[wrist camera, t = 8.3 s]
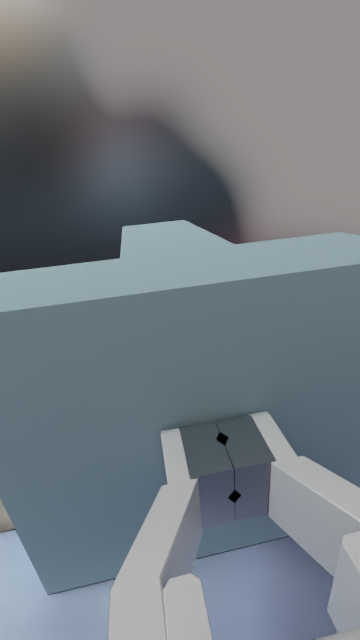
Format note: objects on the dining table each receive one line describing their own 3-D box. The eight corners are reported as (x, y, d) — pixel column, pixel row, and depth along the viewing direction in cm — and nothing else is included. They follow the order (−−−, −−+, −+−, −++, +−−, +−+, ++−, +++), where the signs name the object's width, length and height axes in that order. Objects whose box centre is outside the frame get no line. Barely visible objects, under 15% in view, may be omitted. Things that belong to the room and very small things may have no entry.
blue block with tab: (47, 594, 10) (-87, 324, 6) (91, 369, 23) (58, 233, 19) (373, 515, 11) (446, 252, 7) (243, 344, 24) (242, 213, 20)
